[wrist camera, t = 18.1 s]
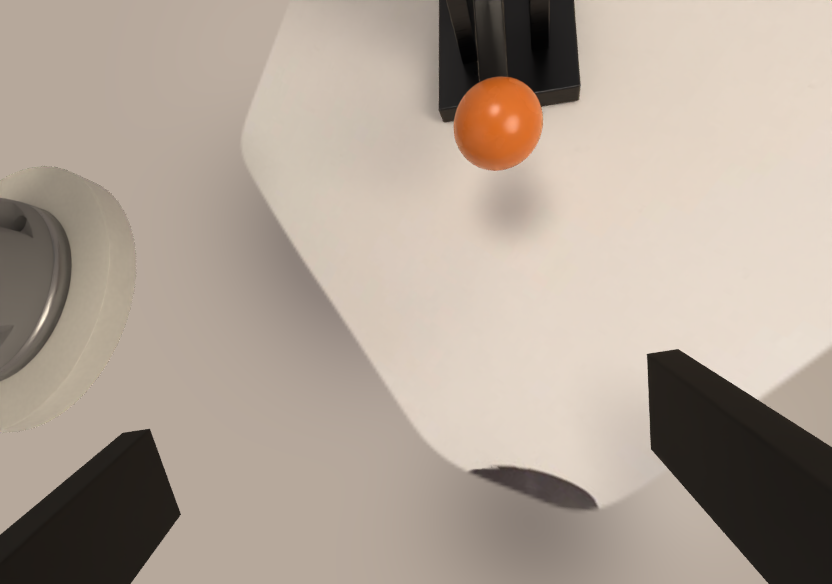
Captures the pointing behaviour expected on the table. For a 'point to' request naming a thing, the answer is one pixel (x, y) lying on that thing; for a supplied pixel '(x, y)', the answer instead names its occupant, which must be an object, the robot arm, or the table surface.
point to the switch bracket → (511, 50)
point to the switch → (496, 101)
